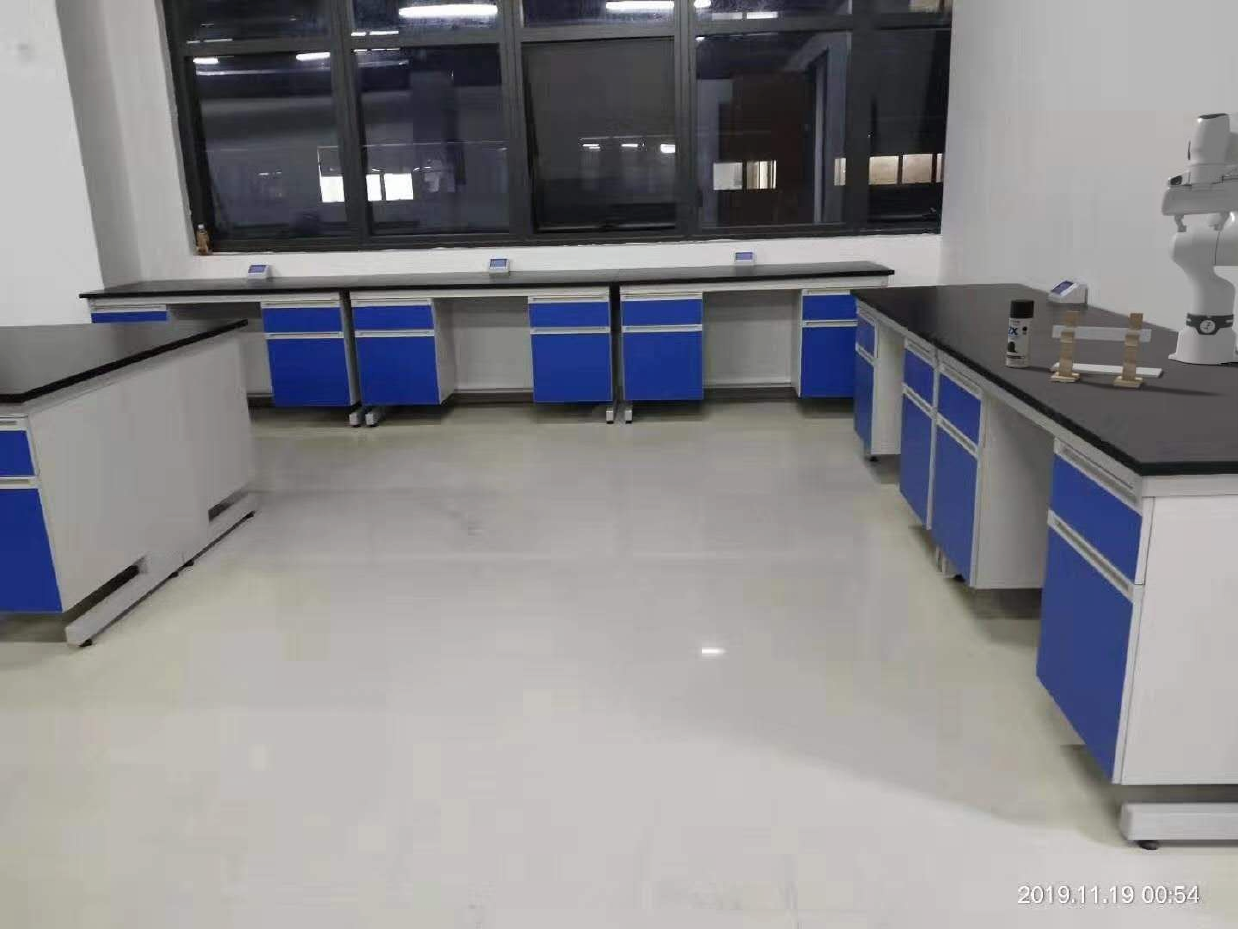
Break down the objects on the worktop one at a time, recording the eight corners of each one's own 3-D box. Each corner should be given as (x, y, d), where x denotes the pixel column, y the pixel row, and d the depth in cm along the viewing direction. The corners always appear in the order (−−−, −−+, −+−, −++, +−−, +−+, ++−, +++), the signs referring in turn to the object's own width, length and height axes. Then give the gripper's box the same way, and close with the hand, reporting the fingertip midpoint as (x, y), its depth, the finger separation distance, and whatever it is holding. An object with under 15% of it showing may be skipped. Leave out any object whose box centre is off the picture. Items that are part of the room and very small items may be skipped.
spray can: (1000, 365, 291) (1005, 300, 285) (1018, 363, 293) (1023, 298, 288) (1016, 369, 285) (1021, 302, 279) (1034, 366, 287) (1039, 300, 282)
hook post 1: (1056, 376, 273) (1062, 309, 268) (1078, 377, 270) (1085, 310, 265) (1050, 381, 267) (1056, 313, 262) (1073, 382, 264) (1079, 314, 258)
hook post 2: (1118, 380, 265) (1125, 312, 259) (1142, 381, 261) (1150, 312, 256) (1113, 385, 258) (1120, 316, 253) (1138, 387, 255) (1146, 316, 250)
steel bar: (1054, 335, 269) (1055, 325, 268) (1150, 340, 255) (1151, 329, 254) (1052, 337, 266) (1052, 326, 265) (1148, 342, 253) (1150, 330, 252)
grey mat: (1057, 364, 288) (1057, 362, 288) (1161, 371, 273) (1162, 368, 273) (1050, 370, 281) (1050, 368, 280) (1157, 377, 265) (1158, 375, 265)
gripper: (1254, 174, 242) (1247, 229, 245) (1173, 181, 260) (1168, 233, 262) (1242, 172, 239) (1235, 229, 242) (1160, 180, 256) (1155, 232, 259)
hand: (1199, 231), depth 252 cm, fingers open, 8 cm apart
